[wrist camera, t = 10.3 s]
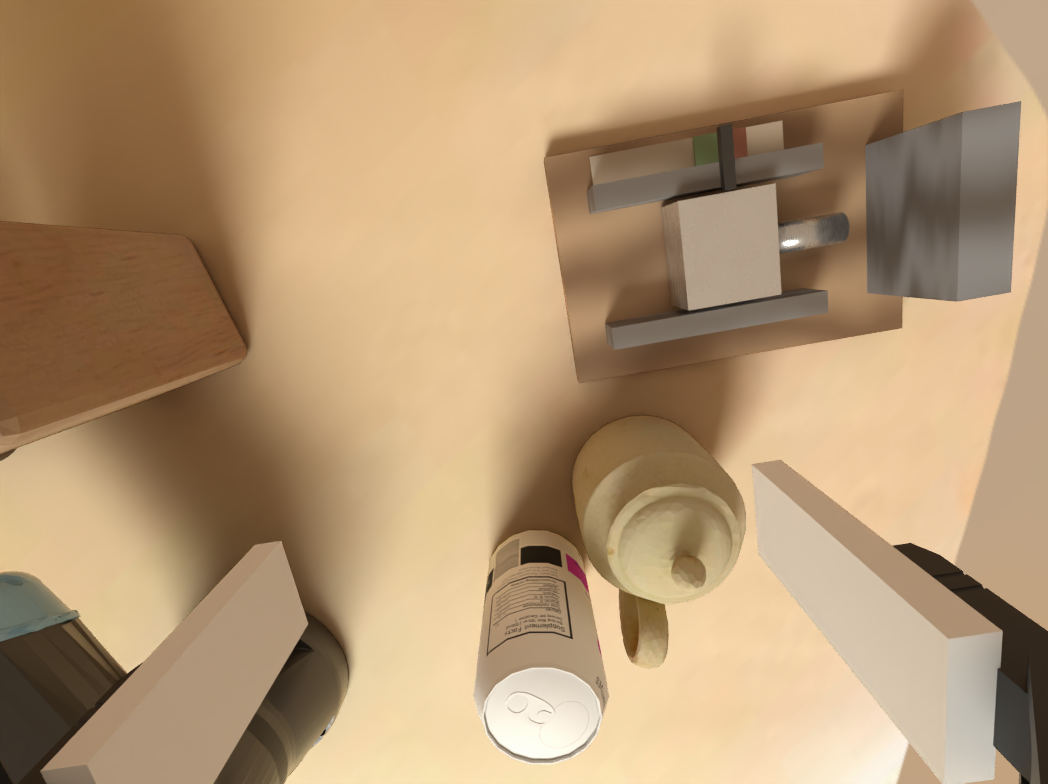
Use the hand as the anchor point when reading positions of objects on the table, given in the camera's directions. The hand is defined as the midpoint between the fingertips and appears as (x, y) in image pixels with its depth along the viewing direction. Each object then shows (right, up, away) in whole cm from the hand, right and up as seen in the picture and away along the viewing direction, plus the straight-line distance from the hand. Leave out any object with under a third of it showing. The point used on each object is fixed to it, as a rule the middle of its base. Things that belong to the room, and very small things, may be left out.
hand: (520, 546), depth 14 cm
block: (-27, +10, +25) cm, 38 cm away
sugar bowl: (+10, -5, +29) cm, 31 cm away
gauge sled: (+15, +16, +22) cm, 31 cm away
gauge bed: (+15, +15, +24) cm, 32 cm away
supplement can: (+1, -11, +31) cm, 32 cm away
